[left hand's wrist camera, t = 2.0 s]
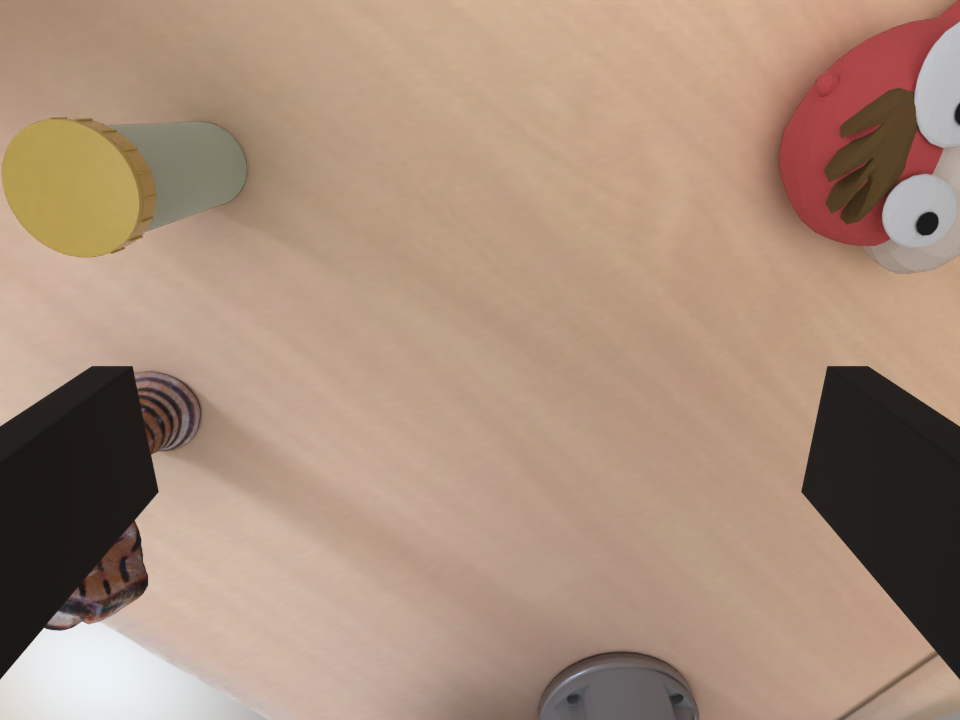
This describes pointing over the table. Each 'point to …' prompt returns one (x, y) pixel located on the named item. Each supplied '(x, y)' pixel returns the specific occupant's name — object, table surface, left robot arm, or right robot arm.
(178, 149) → the jar
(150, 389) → the figurine
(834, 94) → the toy
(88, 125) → the lid
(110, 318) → the table surface
